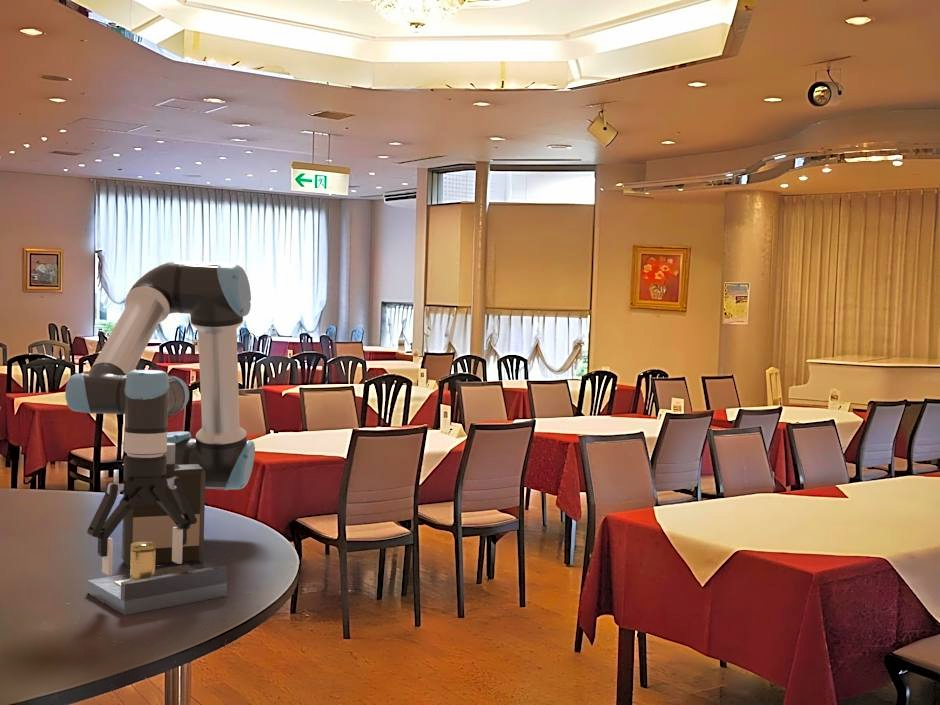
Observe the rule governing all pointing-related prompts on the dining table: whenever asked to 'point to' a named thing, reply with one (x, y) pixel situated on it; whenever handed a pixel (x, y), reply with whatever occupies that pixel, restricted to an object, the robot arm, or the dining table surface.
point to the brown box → (159, 526)
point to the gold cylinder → (142, 560)
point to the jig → (160, 588)
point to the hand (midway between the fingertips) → (142, 567)
